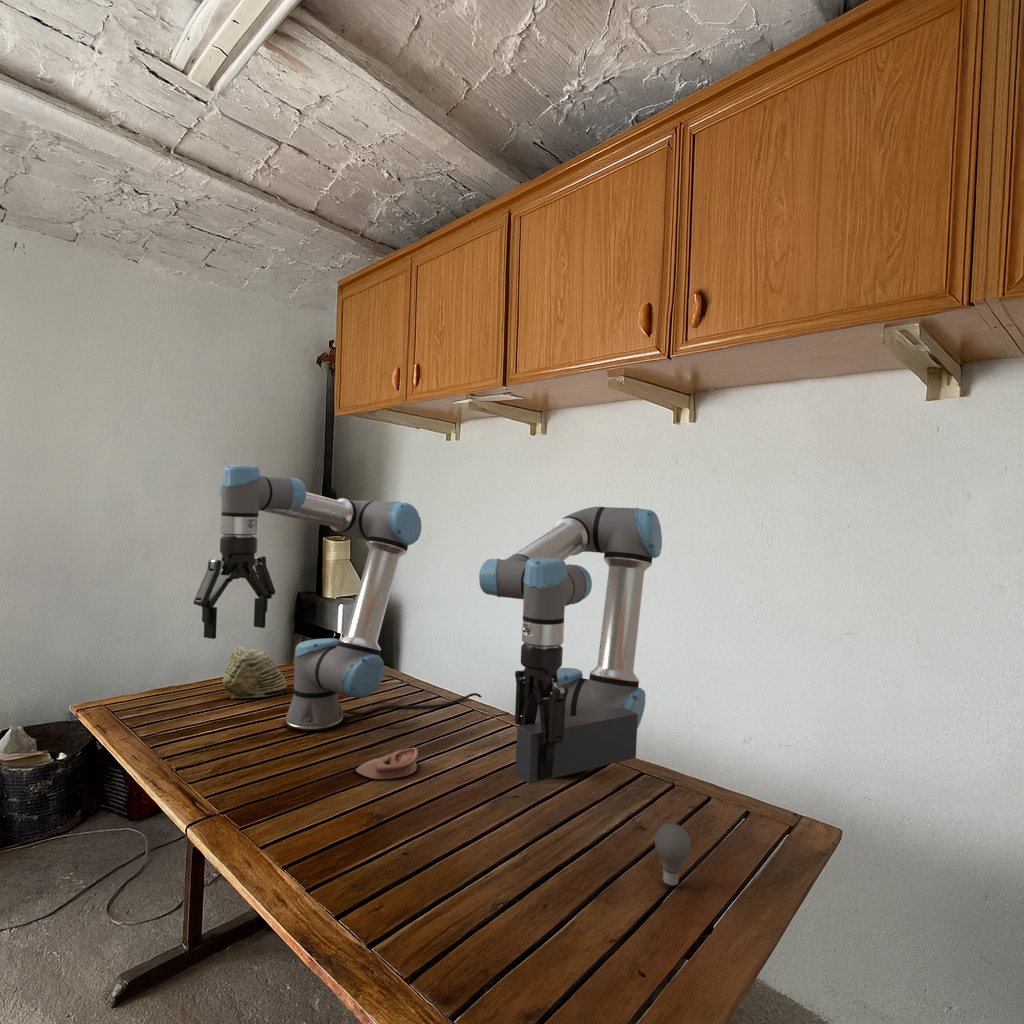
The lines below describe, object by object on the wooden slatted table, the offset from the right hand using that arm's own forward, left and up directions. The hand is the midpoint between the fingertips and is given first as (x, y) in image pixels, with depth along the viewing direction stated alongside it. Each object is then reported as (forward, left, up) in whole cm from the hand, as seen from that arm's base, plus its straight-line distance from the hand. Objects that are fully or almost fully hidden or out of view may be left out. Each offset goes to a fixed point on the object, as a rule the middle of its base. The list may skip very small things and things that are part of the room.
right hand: (536, 772), depth 115 cm
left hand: (+47, -52, +17) cm, 73 cm away
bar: (-10, -1, -1) cm, 10 cm away
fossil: (+37, -113, -15) cm, 119 cm away
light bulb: (-18, +17, -15) cm, 29 cm away
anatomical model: (+14, -45, -15) cm, 49 cm away
